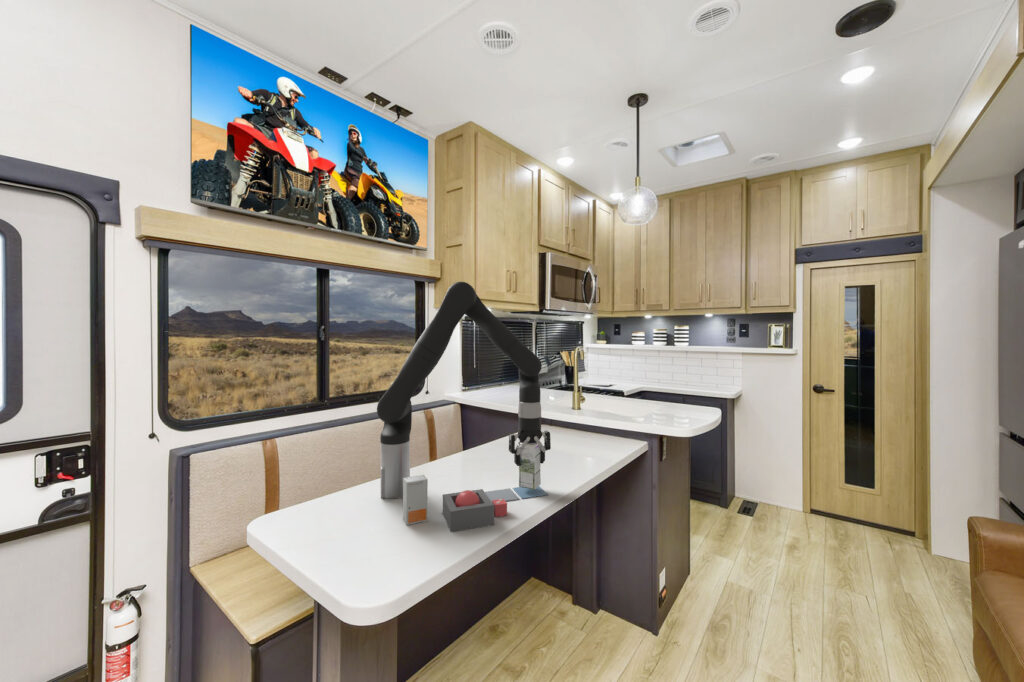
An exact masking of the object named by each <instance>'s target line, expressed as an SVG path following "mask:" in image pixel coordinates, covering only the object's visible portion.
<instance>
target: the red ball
mask: <svg viewBox="0 0 1024 682" xmlns="http://www.w3.org/2000/svg"><path fill="white" fill-rule="evenodd" d="M460 492H461V493H460V494H459V495H458V496H457V498H456V501H455V506H456V507H462V506H469V505H476V504H480V500H479V497H478V495H477V494H476V493H475V492H473V491H472V490H463V491H460Z"/></svg>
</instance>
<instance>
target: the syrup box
mask: <svg viewBox="0 0 1024 682" xmlns="http://www.w3.org/2000/svg"><path fill="white" fill-rule="evenodd" d="M520 445H522V443H520V444H519V446H520ZM523 446H524V445H523ZM540 459H541V449H540V447H539V445H538V443H529V444H526V445H525V447H524V449H523V450H522V451H521V453H520V466H518V479H519V480H518V487H523V488H529V489H536V488H537V487H538V486H539V487H540V485H541V484H542V483H541V480H542V479H541V463H540Z"/></svg>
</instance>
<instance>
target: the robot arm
mask: <svg viewBox="0 0 1024 682" xmlns="http://www.w3.org/2000/svg"><path fill="white" fill-rule="evenodd" d="M440 303H441V304H440V306H439V308H438V310H437V312H436V313H435V315H434V316H433V318H432V320H430V322H429V323H428V325H427V326H426V328H424V330H423V331H422V333H421V334H420V336H419V338H418V339H417V341H416V342H415V344H414V346H413V347H412V348H411V351H410V352H409V355H408V356H407V358H406V359H405V361H404V363H403V365H402V367H400V371H399V373H398V374H397V376H396V378H395V379H394V381H393V382H392V383H391V385H390V386H389V387H388V389H387V390H386V391H385V392H384V394H383V395H382V397H381V398H379V400H378V402H377V405H376V406H377V407H376V413H377V415H378V418H379V419H380V420H381V421H382V422H383V427H382V430H381V432H380V467H379V468H380V470H379V471H380V498H381V499H399V498H400V499H401V498H403V478H407V477H411V458H410V457H411V455H410V454H411V450H410V449H411V448H410V447H411V446H410V445H411V440H410V438H411V437H410V436H411V432H412V419H413V418H412V415H413V408H412V407H413V406H412V401H411V399H412V398H413V396H414V394H415V392H416V390H417V389H418V388H419V387H420V386H421V384H423V382H424V381H425V380H426V379H427V378H428V377H429V375H430V374H431V373H432V372H433V370H434V369H435V368H436V366H437V365H438V363H439V362H440V360H441V358H442V357H443V355H444V353H445V352H446V349H447V348H448V346H449V344H450V342H451V338H452V336H453V333H454V331H455V329H456V327H457V325H458V323H460V321H461V320H462V318H464V315H465V316H467V317H468V318H469V319H471V321H472V322H473V323H474V324H476V325H477V326H478V327H479V328H480V330H481V331H482V332H483V333H484V334H485V336H486V337H487V338H488V339H489V340H490V341H491V343H492V344H493V345H494V346H495V347H496V348H497V349H498V350H499V351H500V352H501V353H502V354H503V355H504V356H506V357H507V358H508V359H509V360H511V362H512V364H514V366H516V367H517V368H518V381H519V387H518V388H519V390H518V394H519V395H518V399H519V401H518V412H517V415H518V418H517V419H518V432H517V433H514V434H513V433H509V435H508V452H509V453H510V454H513V455H514V458H513V459H514V461H513V462H514V464H515V465H516V466H517V467H519V466H520V453H521V451H522V450H523V449H524V447H525V445H526V444H529V443H538V445H539V447H540V449H541V459H540V465H541V464H544V462H545V461H546V452H547V451H550V450H551V448H552V447H551V444H552V443H551V432H550V431H548V430H544V431H542V404H541V386H540V384H539V383H540V381H539V379H540V378H539V377H540V373H541V371H542V362H541V360H540V358H539V357H538V356H537V355H536V354H535V353H534V352H533V351H532V350H530V349H529V348H528V347H527V346H526V345H524V343H523V342H522V341H521V340H520V338H518V337H517V336H516V334H515V333H513V332H512V330H511V329H510V328H508V326H507V325H505V324H504V323H503V322H502V321H501V320H500V319H499V318H498V317H496V316H495V315H494V314H493V313H492V312H491V311H490V310H489V309H488V307H486V305H485V304H484V303H483V302H482V300H481V299H480V297H479V296H478V294H477V292H476V289H475V288H474V287H473V286H472V285H471V284H469V283H468V282H466V281H456V282H454V283H452V284H451V285H450V286H449V287H448V288H447V290H446V293H445V295H444V297H443V299H442V302H440ZM541 438H543V439H544V440H543V442H544V443H542V442H541ZM517 439H518V442H517V444H516V441H517ZM520 443H522V445H520V446H519V444H520ZM523 445H524V446H523ZM515 446H516V447H515Z"/></svg>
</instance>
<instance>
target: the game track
mask: <svg viewBox="0 0 1024 682" xmlns="http://www.w3.org/2000/svg"><path fill="white" fill-rule="evenodd" d="M513 489H514V490H513ZM484 492H485V493H486V495H487V496H488V498H489V499H490V500H491V502H492V500H498V499H504V500H505V501H506V502H512V501H511V500H513V501H518V499H519V500H520V499H522V500H524V498H526V499H531V498H530V497H533V498H537V497H536V496H540V497H544V496H543V495H546V496H549V493H547V492H546V491H545V490H544V489H543V488H542V487H541V486H540V485H539V486H538V487H537V488H536V489H529V488H523V487H519V486H518V487H517V486H516V487H512V489H511V488H509V487H508V488H502V489H496V490H488V491H484ZM517 495H518V496H519V497H518V496H517Z"/></svg>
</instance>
